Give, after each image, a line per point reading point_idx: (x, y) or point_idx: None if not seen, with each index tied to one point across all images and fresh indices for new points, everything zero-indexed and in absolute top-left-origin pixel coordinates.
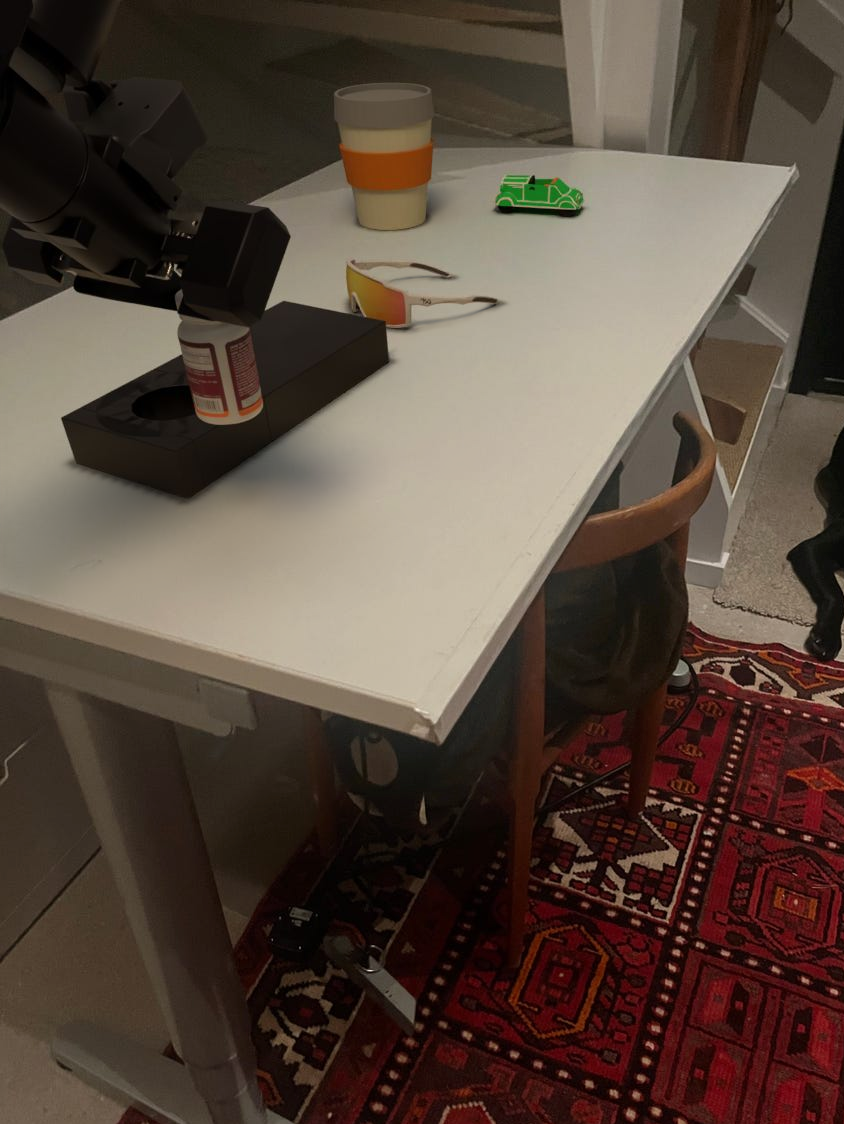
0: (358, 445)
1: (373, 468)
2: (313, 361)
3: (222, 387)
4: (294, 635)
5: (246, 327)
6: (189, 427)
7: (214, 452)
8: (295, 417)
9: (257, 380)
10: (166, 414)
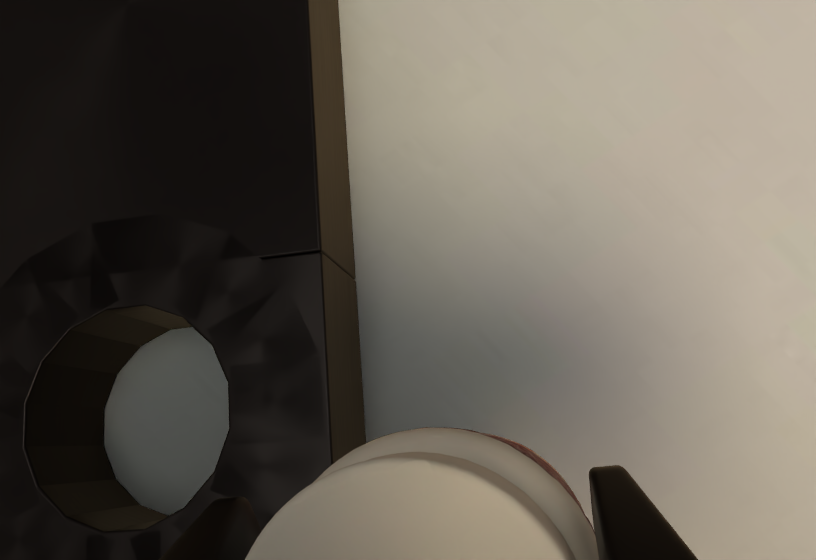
0: (550, 172)
1: (664, 236)
2: (290, 18)
3: None
4: None
5: (589, 529)
6: (271, 503)
7: None
8: (344, 177)
9: (573, 494)
10: (86, 378)
